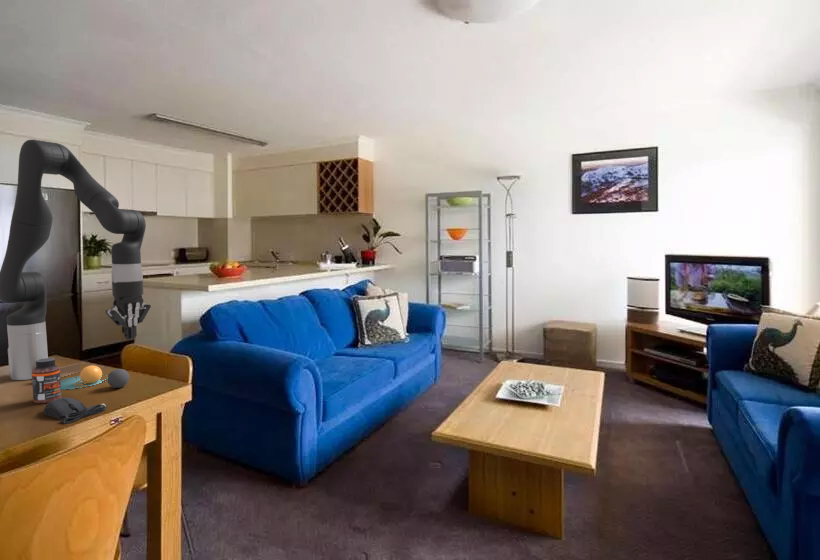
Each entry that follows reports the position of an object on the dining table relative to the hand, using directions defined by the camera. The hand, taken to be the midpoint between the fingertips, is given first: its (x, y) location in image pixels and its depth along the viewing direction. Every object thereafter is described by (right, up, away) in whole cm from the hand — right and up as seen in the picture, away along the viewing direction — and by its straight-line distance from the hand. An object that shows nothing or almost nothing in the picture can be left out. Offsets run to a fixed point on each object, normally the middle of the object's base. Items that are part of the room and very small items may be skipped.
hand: (130, 339), depth 128 cm
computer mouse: (-5, -17, -16) cm, 24 cm away
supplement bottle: (-18, -16, -8) cm, 25 cm away
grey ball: (-5, -12, +3) cm, 13 cm away
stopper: (-30, -14, +12) cm, 35 cm away
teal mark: (-20, -14, +8) cm, 26 cm away
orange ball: (-16, -12, +6) cm, 21 cm away
